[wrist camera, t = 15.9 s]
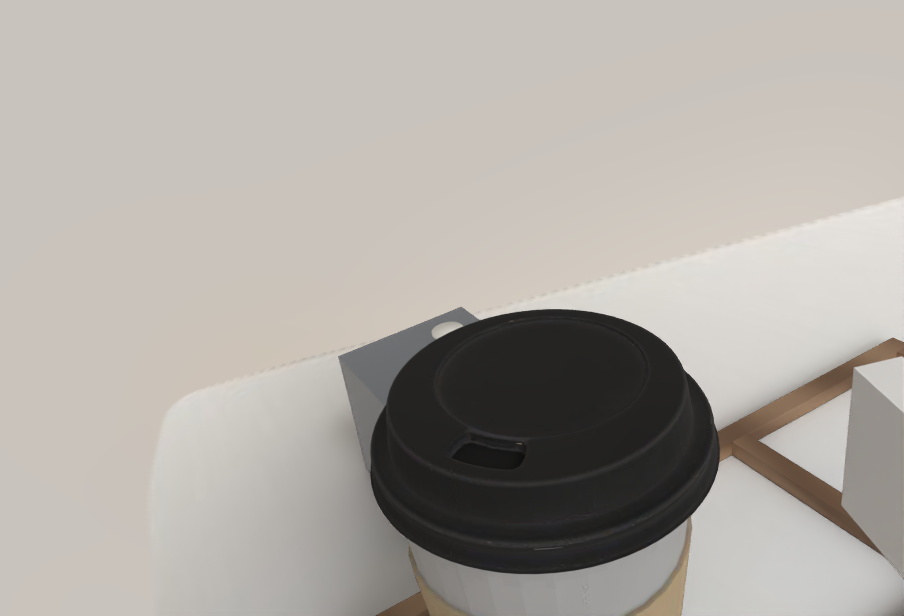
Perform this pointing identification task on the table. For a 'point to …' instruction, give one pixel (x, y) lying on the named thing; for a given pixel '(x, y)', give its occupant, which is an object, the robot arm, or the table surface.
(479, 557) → the coffee cup
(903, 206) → the table surface
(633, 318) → the table surface
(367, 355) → the die
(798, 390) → the wooden frame
